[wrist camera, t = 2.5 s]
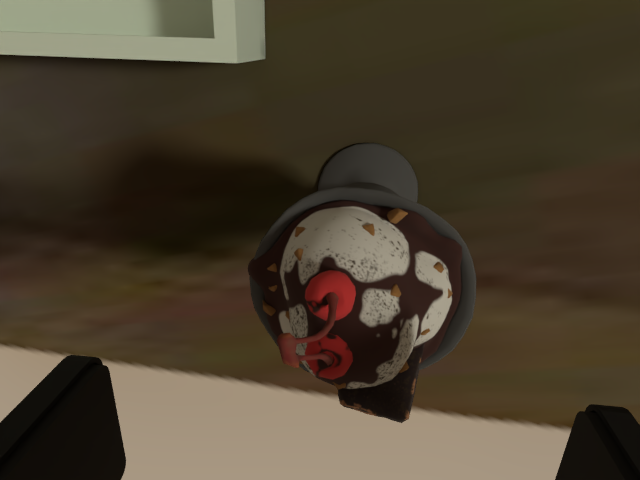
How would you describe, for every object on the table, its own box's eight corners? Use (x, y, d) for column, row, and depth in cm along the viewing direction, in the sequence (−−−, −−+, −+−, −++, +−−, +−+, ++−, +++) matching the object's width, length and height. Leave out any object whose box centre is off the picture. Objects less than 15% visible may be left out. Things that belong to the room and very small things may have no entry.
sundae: (324, 103, 21) (225, 219, 7) (458, 153, 21) (602, 356, 8) (283, 225, 24) (156, 474, 10) (403, 268, 24) (435, 569, 10)
